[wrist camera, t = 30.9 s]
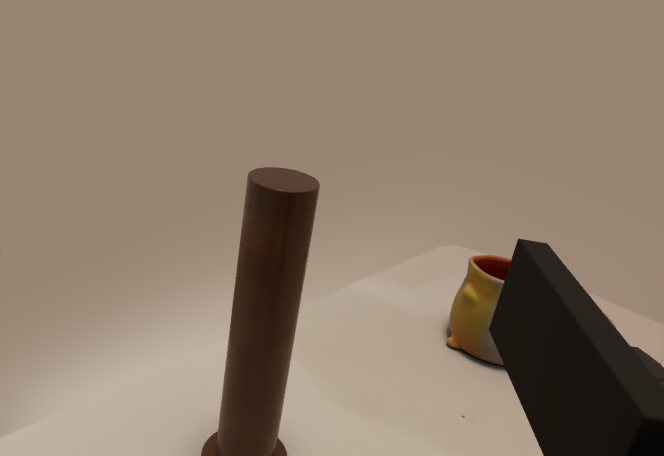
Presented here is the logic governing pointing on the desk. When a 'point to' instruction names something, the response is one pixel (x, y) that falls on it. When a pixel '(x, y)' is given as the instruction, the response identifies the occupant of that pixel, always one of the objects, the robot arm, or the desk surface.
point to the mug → (478, 307)
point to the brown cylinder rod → (264, 311)
